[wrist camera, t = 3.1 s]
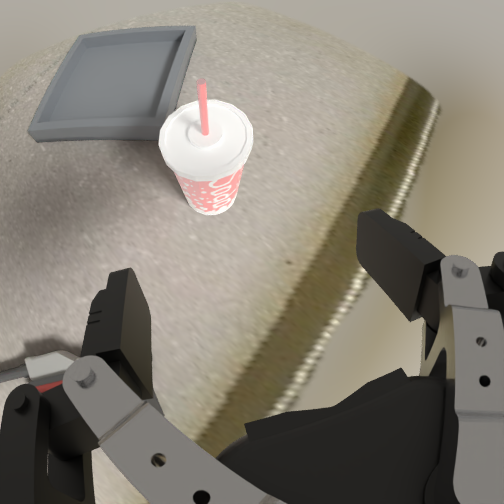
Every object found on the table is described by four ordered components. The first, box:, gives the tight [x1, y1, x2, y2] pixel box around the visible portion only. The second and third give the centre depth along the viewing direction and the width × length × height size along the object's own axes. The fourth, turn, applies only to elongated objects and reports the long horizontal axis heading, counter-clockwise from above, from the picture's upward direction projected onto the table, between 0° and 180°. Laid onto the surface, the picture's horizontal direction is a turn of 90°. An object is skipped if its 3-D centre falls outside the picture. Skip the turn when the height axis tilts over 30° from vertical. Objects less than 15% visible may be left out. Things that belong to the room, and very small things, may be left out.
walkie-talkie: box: [0, 350, 164, 416], centre depth 21 cm, size 9×4×20 cm
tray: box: [28, 26, 196, 143], centre depth 29 cm, size 16×16×2 cm
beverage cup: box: [158, 79, 253, 215], centre depth 21 cm, size 6×6×14 cm
